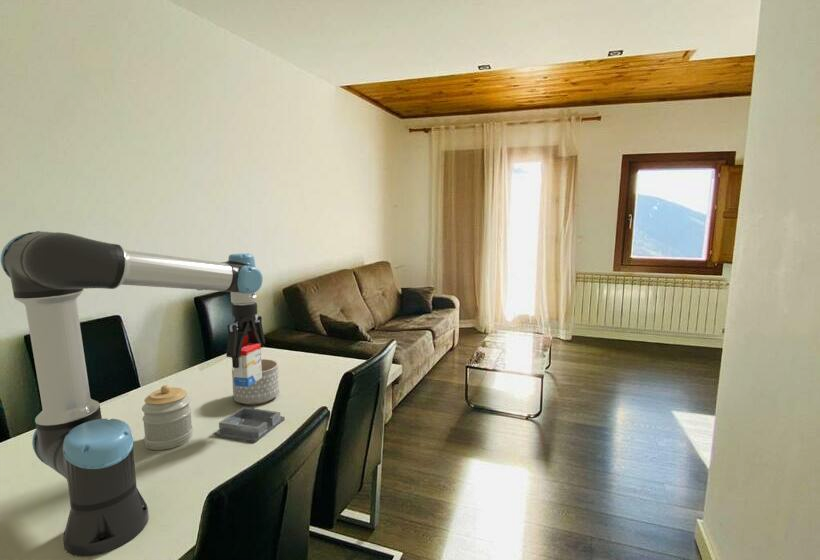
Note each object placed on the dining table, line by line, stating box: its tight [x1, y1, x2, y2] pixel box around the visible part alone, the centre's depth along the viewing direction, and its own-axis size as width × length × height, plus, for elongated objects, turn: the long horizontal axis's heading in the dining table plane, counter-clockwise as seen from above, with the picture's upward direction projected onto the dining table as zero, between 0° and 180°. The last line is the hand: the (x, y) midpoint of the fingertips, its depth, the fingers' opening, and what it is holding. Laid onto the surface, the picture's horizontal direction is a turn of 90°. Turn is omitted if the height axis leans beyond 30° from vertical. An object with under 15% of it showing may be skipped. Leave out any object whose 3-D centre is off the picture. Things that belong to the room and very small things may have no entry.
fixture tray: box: [213, 406, 286, 444], centre depth 140 cm, size 16×15×4 cm
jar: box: [141, 384, 194, 451], centre depth 131 cm, size 13×13×18 cm
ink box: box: [234, 334, 262, 387], centre depth 137 cm, size 8×5×15 cm, turn 168°
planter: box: [231, 358, 280, 406], centre depth 163 cm, size 16×16×13 cm
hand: (248, 371), depth 137 cm, fingers closed on ink box, 9 cm apart
